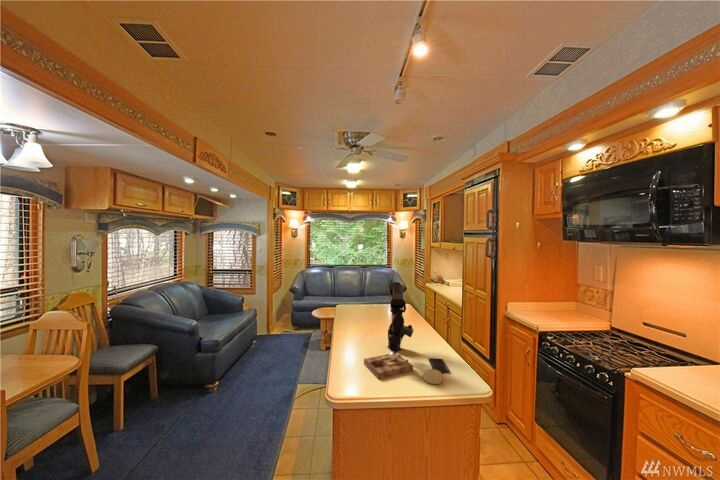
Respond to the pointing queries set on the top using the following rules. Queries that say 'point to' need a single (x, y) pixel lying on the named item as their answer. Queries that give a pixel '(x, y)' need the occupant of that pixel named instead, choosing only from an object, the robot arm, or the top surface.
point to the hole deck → (387, 366)
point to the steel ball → (393, 356)
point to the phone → (439, 365)
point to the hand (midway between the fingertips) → (397, 350)
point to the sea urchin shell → (433, 376)
